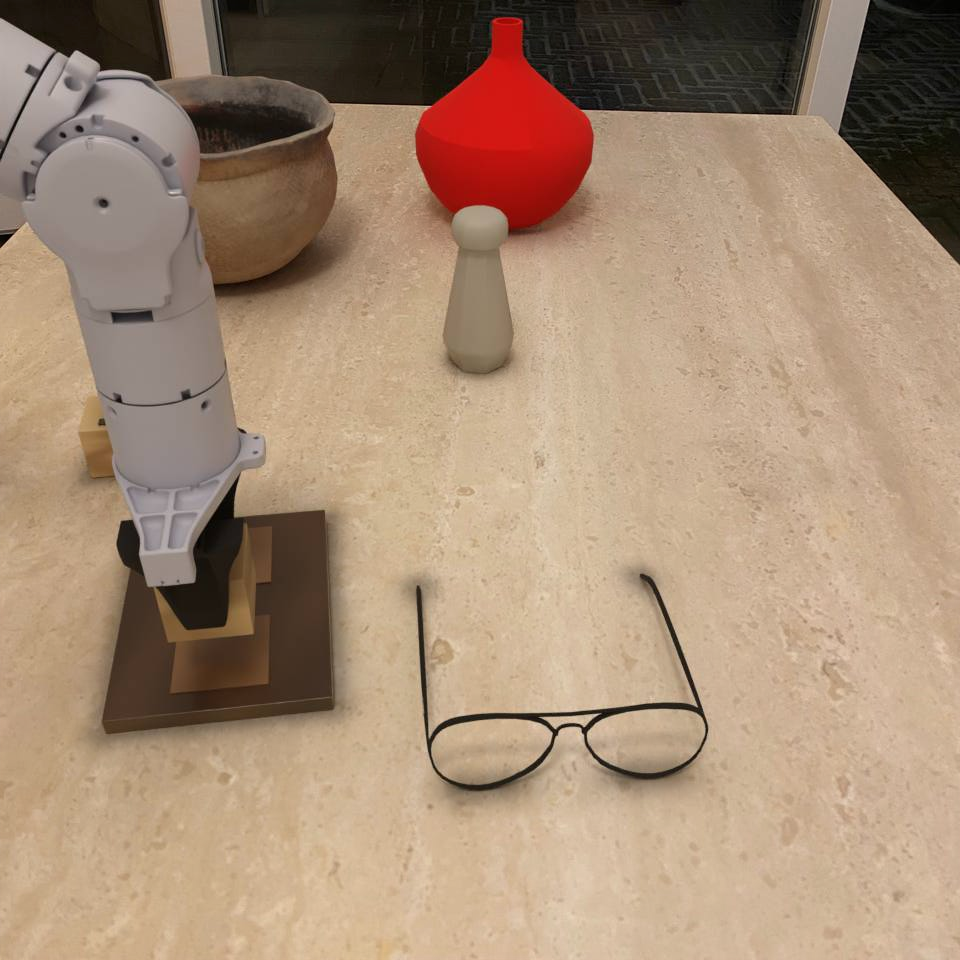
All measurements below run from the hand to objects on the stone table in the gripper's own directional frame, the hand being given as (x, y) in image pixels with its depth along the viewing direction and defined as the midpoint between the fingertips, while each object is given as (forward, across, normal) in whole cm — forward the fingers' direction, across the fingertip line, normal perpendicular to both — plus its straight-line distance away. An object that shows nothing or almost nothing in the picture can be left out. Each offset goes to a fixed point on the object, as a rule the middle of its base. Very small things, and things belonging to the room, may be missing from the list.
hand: (209, 590), depth 53 cm
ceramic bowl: (+6, +52, +2) cm, 52 cm away
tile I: (+6, +21, +8) cm, 23 cm away
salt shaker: (+6, +31, -19) cm, 37 cm away
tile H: (+1, 0, 0) cm, 1 cm away
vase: (+6, +61, -26) cm, 67 cm away
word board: (+6, +4, 0) cm, 7 cm away
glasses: (+6, -3, -18) cm, 19 cm away
